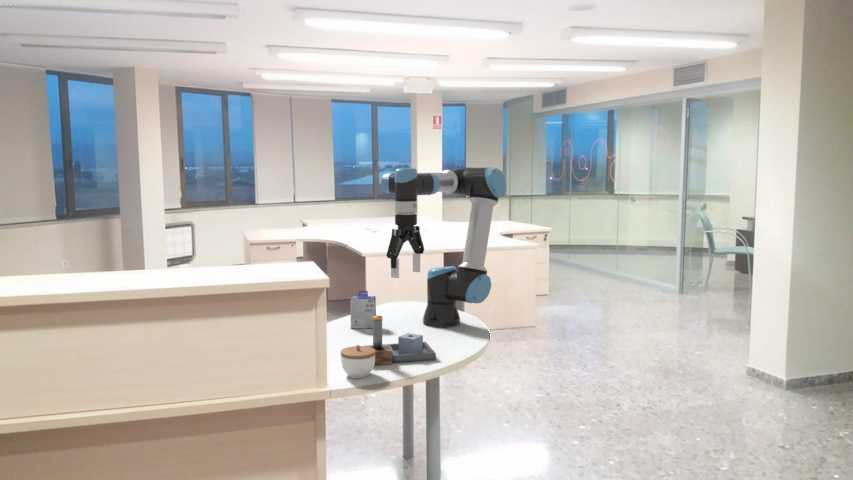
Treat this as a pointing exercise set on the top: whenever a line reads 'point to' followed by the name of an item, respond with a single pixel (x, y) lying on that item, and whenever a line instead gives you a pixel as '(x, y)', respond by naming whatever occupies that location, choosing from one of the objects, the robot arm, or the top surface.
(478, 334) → the top surface
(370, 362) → the lidded jar
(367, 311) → the ink cartridge box
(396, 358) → the tray
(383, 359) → the go block
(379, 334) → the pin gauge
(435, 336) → the top surface
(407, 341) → the block
